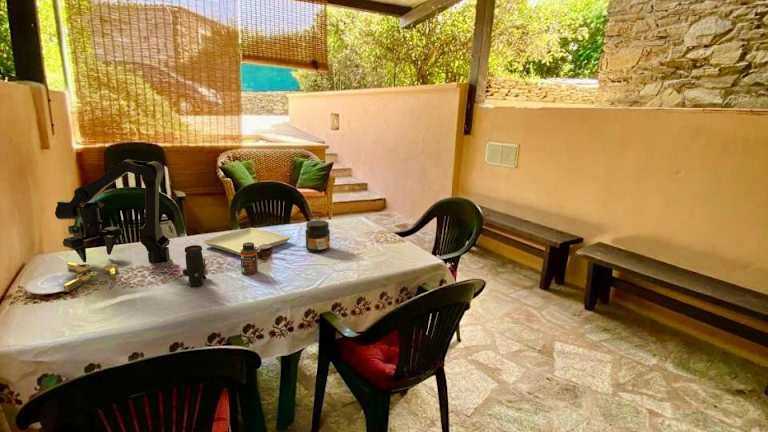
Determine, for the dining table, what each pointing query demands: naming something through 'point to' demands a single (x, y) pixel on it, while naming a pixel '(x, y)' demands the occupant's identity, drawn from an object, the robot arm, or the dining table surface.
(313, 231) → the supplement container
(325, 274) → the dining table surface
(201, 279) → the scope
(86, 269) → the knob front
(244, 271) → the supplement bottle
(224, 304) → the dining table surface
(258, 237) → the square plate
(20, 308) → the dining table surface
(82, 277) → the knob left
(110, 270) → the knob near
